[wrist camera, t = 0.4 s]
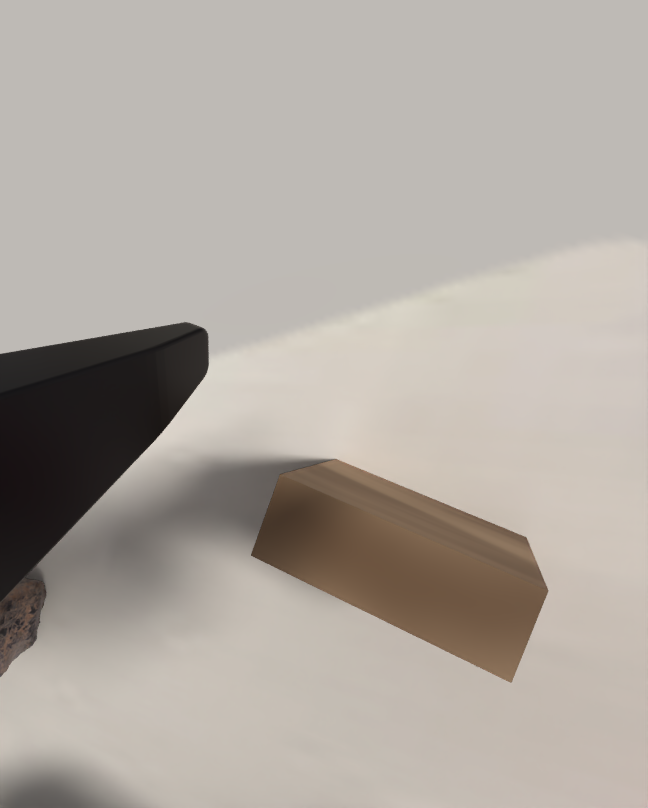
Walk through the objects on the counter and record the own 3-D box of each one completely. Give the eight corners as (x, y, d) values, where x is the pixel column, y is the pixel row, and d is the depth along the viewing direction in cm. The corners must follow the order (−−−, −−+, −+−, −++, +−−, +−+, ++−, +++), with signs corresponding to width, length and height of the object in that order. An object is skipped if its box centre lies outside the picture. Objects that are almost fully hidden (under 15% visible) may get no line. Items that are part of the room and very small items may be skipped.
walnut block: (499, 605, 23) (508, 689, 16) (313, 521, 26) (248, 560, 18) (526, 537, 23) (548, 590, 16) (336, 459, 25) (279, 474, 18)
